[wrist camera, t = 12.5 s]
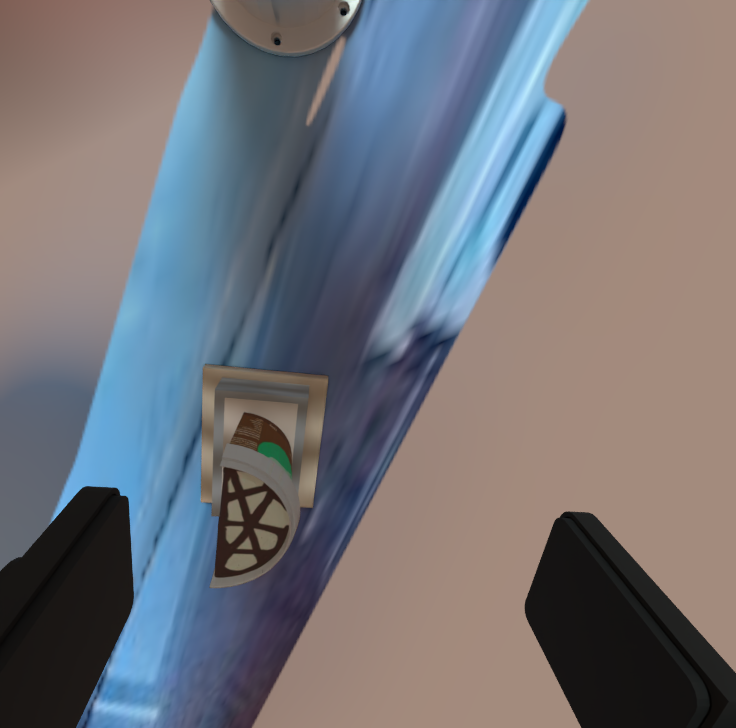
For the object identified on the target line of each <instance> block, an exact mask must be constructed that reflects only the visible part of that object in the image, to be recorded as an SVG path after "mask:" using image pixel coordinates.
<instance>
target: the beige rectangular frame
mask: <svg viewBox="0 0 736 728" xmlns="http://www.w3.org/2000/svg"><path fill="white" fill-rule="evenodd" d="M327 387H328V376H324V375H313V374H303V373H293V372H282V371H272V370H262V369H251V368H241V367H231V366H220V365H210V364H205V366H204V367H203V394H202V463H201V502H207V503H212V516H219V514H220V505H221V495H222V484H223V468H224V467H221V466H220V464H221V461H222V456H223V453H224V450H225V447H226V444H227V443H228V444H229V443H230V441H231V439H232V437H233V435H234V433H235V430H236V428H237V426H238V424H239V422H240V419H241V417H242V415H243V413H244V412H246V413H252V414H256V415H259V416H261V417H264V418H266V419H268V420H269V421H271V422H272V423H274V424H275V425H276V426H278V427H279V428H280V429H281V430H282V432H283V433H284V434H285V435H286V437H287V439H288V441H289V444H290V446H291V452H292V482H293V484H294V486H295V488H296V490H297V493H298V496H299V502H300V507H308V508H313V500H314V492H315V484H316V476H317V468H318V460H319V452H320V443H321V435H322V427H323V419H324V411H325V403H326V395H327Z"/></svg>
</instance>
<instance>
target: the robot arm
mask: <svg viewBox="0 0 736 728" xmlns="http://www.w3.org/2000/svg"><path fill="white" fill-rule="evenodd" d="M210 1H211V3H212V5H213V6H214V8H215V9H216V11H217V12H218V14H219V15H220V17H221V18H222V20H223V21H224V22H225V23H226V24H227V25H228V26H229V27H230V28H231V29H232V30H233V31H234V32H235V33H236V34H237V35H238V36H240V37H241V38H242V39H244V40H245V41H246V42H247V43H249V44H250V45H252V46H254V47H256V48H258V49H260V50H262V51H264V52H267V53H271V54H275V55H279V56H292V57H297V56H303V55H308V54H312V53H314V52H317V51H319V50H321V49H323V48H326V47H327V46H328V45H330V44H331V43H332V42H334V41H335V40H336V39H338V38H339V37H340V36H341V34H342V33H343V32H344V31H345V30H346V29H347V28H348V27H349V25H350V24H351V22H352V20H353V18H354V17H355V15H356V13H357V12H358V10H359V7H360V4H361V1H362V0H210ZM342 10H344V11H346V13H347V15H346V16H343V15H341V14H340V12H341V11H342ZM277 39H278V40H280V41H281V43H280V45H278V46H277V45H275V44H274V42H275V40H277ZM133 599H134V590H133V572H132V554H131V536H130V518H129V501H128V498H127V496H120V492H119V490H118V489H117V488H109V487H90V486H86V487H83V488H82V489H81V490H80V491H79V492H78V493H77V494H76V495H75V496H74V498H73V499H72V500H71V501H70V502H69V503H68V504H67V506H66V507H65V508H64V509H63V510H62V511H61V513H60V514H59V515H58V516H57V517H56V518H55V520H54V521H53V522H52V523H51V524H50V525H49V527H48V528H47V529H46V530H45V531H44V532H43V533H42V535H41V536H40V537H39V538H38V539H37V540H36V542H35V543H34V544H33V545H32V546H31V547H30V548H29V550H28V551H27V552H26V553H25V554H24V555H23V557H18V558H16V559H14V560H13V561H11V562H9V563H8V564H7V565H6V566H5V567H4V568H3V569H2V570H1V571H0V728H76V726H77V724H78V722H79V720H80V718H81V716H82V714H83V712H84V710H85V707H86V705H87V703H88V701H89V699H90V697H91V695H92V693H93V691H94V689H95V686H96V684H97V682H98V680H99V678H100V676H101V674H102V672H103V670H104V667H105V665H106V663H107V661H108V659H109V657H110V655H111V653H112V651H113V649H114V646H115V644H116V642H117V640H118V638H119V636H120V634H121V632H122V630H123V627H124V625H125V623H126V621H127V619H128V617H129V614H130V612H131V609H132V605H133ZM525 614H526V618H527V620H528V622H529V624H530V626H531V628H532V630H533V632H534V634H535V636H536V638H537V640H538V642H539V644H540V646H541V648H542V650H543V652H544V654H545V656H546V658H547V660H548V662H549V664H550V666H551V668H552V670H553V672H554V674H555V676H556V678H557V680H558V682H559V684H560V686H561V688H562V690H563V692H564V694H565V696H566V698H567V700H568V702H569V704H570V706H571V708H572V710H573V712H574V714H575V716H576V718H577V720H578V722H579V724H580V726H581V728H736V673H735V672H734V671H733V669H731V667H730V666H729V665H728V664H727V663H726V662H725V661H724V659H723V658H722V657H721V656H720V655H719V654H718V653H717V652H716V651H715V649H714V648H713V647H712V646H711V645H710V644H709V643H708V642H707V641H706V639H705V638H704V637H703V636H702V635H701V634H700V633H699V632H698V630H697V629H696V628H695V627H694V626H693V625H692V624H691V623H690V621H689V620H688V619H687V618H686V617H685V616H684V615H683V614H682V613H681V611H680V610H679V609H678V608H677V607H676V606H675V605H674V604H673V603H672V601H671V600H670V599H669V598H668V597H667V596H666V595H665V594H664V593H663V591H662V590H661V589H660V588H659V587H658V586H657V585H656V584H655V582H654V581H653V580H652V579H651V578H650V577H649V576H648V575H647V574H646V572H645V571H644V570H643V569H642V568H641V567H640V566H639V565H638V563H637V562H636V561H635V560H634V559H633V558H632V557H631V556H630V554H629V553H628V552H627V551H626V550H625V549H624V548H623V547H622V546H621V544H620V543H619V542H618V541H617V540H616V539H615V538H614V537H613V536H612V534H611V533H610V532H609V531H608V530H607V529H606V528H605V527H604V525H603V524H602V523H601V522H600V521H599V520H598V519H597V518H596V517H595V516H594V515H593V514H591V513H585V512H564V513H563V514H562V515H561V517H560V518H557V519H556V520H555V522H554V524H553V527H552V530H551V532H550V535H549V538H548V541H547V544H546V546H545V549H544V552H543V554H542V557H541V560H540V563H539V565H538V568H537V571H536V574H535V577H534V579H533V582H532V585H531V587H530V591H529V593H528V596H527V598H526V601H525Z"/></svg>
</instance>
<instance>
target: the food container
mask: <svg viewBox="0 0 736 728" xmlns="http://www.w3.org/2000/svg"><path fill="white" fill-rule="evenodd" d="M220 466H221V467H224V468H223V484H222V495H221V505H220V514H219V523H218V538H217V550H216V562H215V570H214V573H213V577H212V580H211V584H210V588H224V587H232V586H236V585H240V584H244V583H247V582H249V581H252V580H254V579H256V578H258V577H260V576H262V575H263V574H265V573H266V572H267V571H269V570H270V569H271V568H272V567H273V566H274V565H275V564H276V563H277V562H278V561H279V560H280V559H281V557H282V556H283V555H284V553H285V552H286V551H287V549H288V548H289V546H290V544H291V541H292V539H293V537H294V534H295V532H296V529H297V526H298V522H299V519H300V502H299V496H298V493H297V490H296V488H295V486H294V484H293V482H292V452H291V446H290V444H289V441H288V439H287V437H286V435H285V434H284V433H283V432H282V430H281V429H280V428H279V427H278V426H276V425H275V424H274V423H272V422H271V421H269V420H268V419H266V418H264V417H261V416H259V415H256V414H252V413H246V412H244V413H243V415H242V417H241V419H240V422H239V424H238V426H237V428H236V430H235V433H234V435H233V437H232V439H231V441H230V443H229V444H228V443H227V444H226V447H225V450H224V453H223V456H222V461H221V464H220Z"/></svg>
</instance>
